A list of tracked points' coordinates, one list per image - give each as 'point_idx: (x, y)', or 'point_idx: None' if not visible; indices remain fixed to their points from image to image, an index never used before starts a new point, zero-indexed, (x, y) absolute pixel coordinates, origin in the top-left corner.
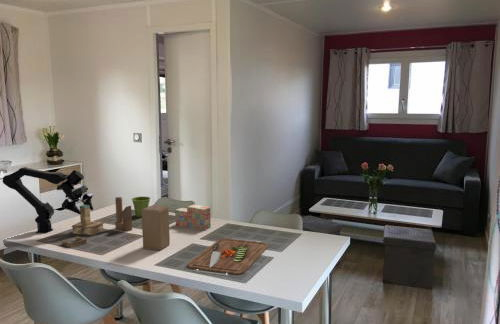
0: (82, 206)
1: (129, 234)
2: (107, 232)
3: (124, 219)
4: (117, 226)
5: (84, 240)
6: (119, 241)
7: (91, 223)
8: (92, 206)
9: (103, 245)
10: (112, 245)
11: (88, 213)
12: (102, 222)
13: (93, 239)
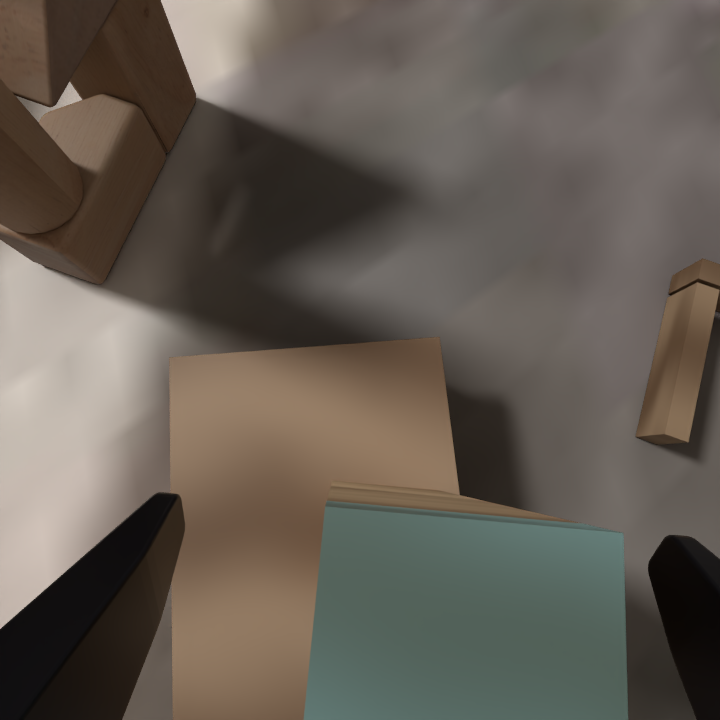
0: (624, 679)
1: (291, 31)
2: (283, 282)
3: (130, 6)
4: (112, 233)
5: (718, 269)
6: (511, 16)
7: (273, 510)
8: (83, 560)
9: (657, 87)
10: (626, 17)
11: (387, 493)
12: (183, 368)
13: (548, 281)
